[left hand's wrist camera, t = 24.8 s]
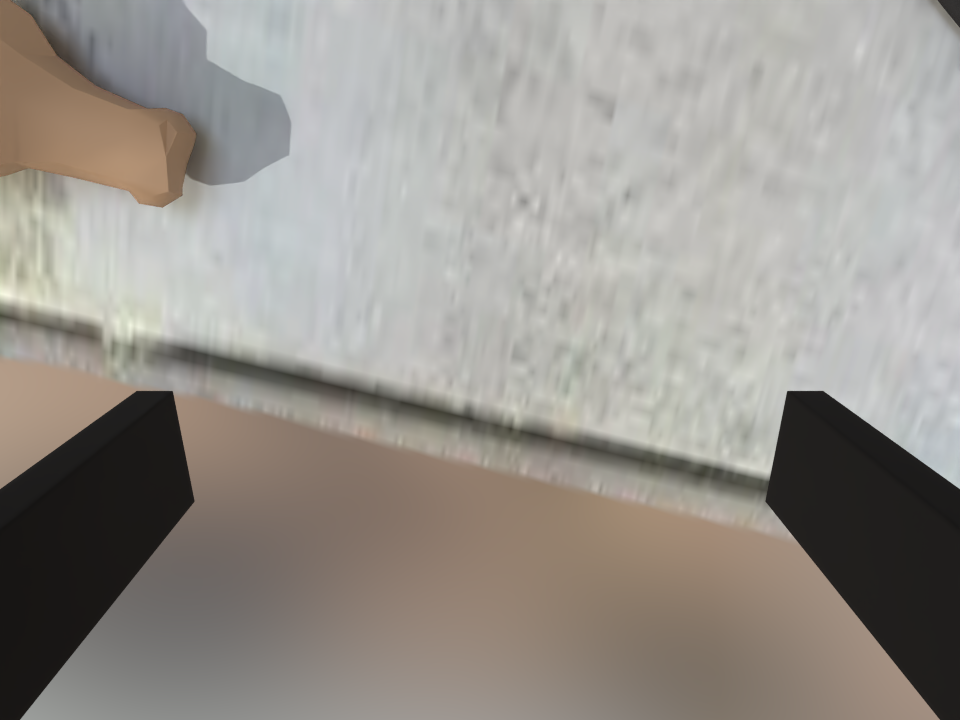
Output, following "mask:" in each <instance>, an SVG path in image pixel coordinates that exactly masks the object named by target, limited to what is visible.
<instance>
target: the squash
mask: <svg viewBox="0 0 960 720" xmlns="http://www.w3.org/2000/svg"><path fill="white" fill-rule="evenodd" d="M196 135H197V134H196V133H195V131H194V130H193V128H192V127H191V125H190V124H189V122H188V121H187V119H186V118H185V117H184V115H183V114H181V113H178V112H175V111H172V110H170V109H167V108H154V109H147V108H145V107H143V106H140V105H138V104H136V103H133V102H131V101H129V100H127V99H124V98H122V97H120V96H118V95H115V94H113V93H111V92H109V91H106V90H104V89H102V88H100V87H97V86H95V85H94V84H93V83H92V82H90V81H89V80H88V79H86V78H85V77H84V76H83V75H81V74H80V73H79V72H77V71H76V70H75V69H73V68H72V67H71V66H70V65H68V64H67V63H66V62H64V61H63V60H62V59H61V58H59V57H58V56H57V55H56V53H55V52H54V50H53V49H52V47H51V46H50V44H49V42H48V41H47V39H46V38H45V36H44V35H43V33H42V31H41V30H40V28H39V27H38V25H37V24H36V22H35V20H34V19H33V17H32V16H31V15H30V14H29V13H27V12H26V11H25V10H23V9H22V8H20V7H19V6H18V5H16V4H15V3H13V2H12V1H11V0H0V177H1V176H6V175H9V174H12V173H15V172H18V171H21V170H24V169H27V168H32V169H36V170H41V171H46V172H50V173H55V174H60V175H64V176H69V177H74V178H78V179H82V180H86V181H90V182H95V183H99V184H103V185H107V186H111V187H115V188H119V189H123V190H127V191H129V192H130V193H131V194H132V195H133V197H134V198H135V199H136V200H137V202H138V203H139V204H145V205H151V206H157V207H164V206H166V205H167V204H169V203H171V202H172V201H174V200H175V199H177V198H179V197H180V196H182V187H183V182H184V177H185V172H186V168H187V163H188V161H189V158H190V155H191V152H192V150H193V147H194V144H195V140H196Z"/></svg>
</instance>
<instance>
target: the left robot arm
mask: <svg viewBox="0 0 960 720" xmlns="http://www.w3.org/2000/svg"><path fill="white" fill-rule="evenodd" d="M938 1H939V2H940V4H941V5H942V6H943V7H944V9H945V10H946V11H947V12H948V14H949V15H950V16H951V17H952V19H953V20H954V21H955V22H956V23H957V25H958V26H959V27H960V0H938ZM193 503H194V496H193V491H192V486H191V481H190V476H189V471H188V466H187V461H186V456H185V451H184V446H183V441H182V436H181V431H180V426H179V421H178V416H177V410H176V405H175V401H174V395H173V391H136V392H135V393H134V394H132V395H131V396H129V397H128V398H126V399H125V400H124V401H122V402H121V403H119V404H118V405H117V406H115V407H114V408H113V409H111V410H110V411H108V412H107V413H106V414H104V415H103V416H102V417H100V418H99V419H97V420H96V421H94V422H93V423H92V424H90V425H89V426H88V427H86V428H85V429H83V430H82V431H81V432H79V433H78V434H76V435H75V436H74V437H72V438H71V439H69V440H68V441H67V442H65V443H64V444H62V445H61V446H60V447H58V448H57V449H56V450H54V451H53V452H51V453H50V454H49V455H47V456H46V457H44V458H43V459H42V460H40V461H39V462H37V463H36V464H35V465H33V466H32V467H30V468H29V469H28V470H26V471H25V472H24V473H22V474H21V475H19V476H18V477H17V478H15V479H14V480H12V481H11V482H10V483H8V484H7V485H6V486H4V487H3V488H1V489H0V720H20V719H21V718H22V716H23V715H24V714H25V713H26V711H27V710H28V709H29V708H30V706H31V705H32V704H33V703H34V701H35V700H36V699H37V698H38V696H39V695H40V694H41V693H42V691H43V690H44V689H45V688H46V686H47V685H48V684H49V683H50V681H51V680H52V679H53V678H54V676H55V675H56V674H57V673H58V671H59V670H60V669H61V668H62V666H63V665H64V664H65V663H66V661H67V660H68V659H69V658H70V656H71V655H72V654H73V653H74V651H75V650H76V649H77V648H78V646H79V645H80V644H81V643H82V641H83V640H84V639H85V638H86V636H87V635H88V634H89V633H90V631H91V630H92V629H93V628H94V626H95V625H96V624H97V623H98V621H99V620H100V619H101V618H102V616H103V615H104V614H105V613H106V611H107V610H108V609H109V608H110V606H111V605H112V604H113V603H114V601H115V600H116V599H117V598H118V596H119V595H120V594H121V593H122V591H123V590H124V589H125V588H126V586H127V585H128V584H129V583H130V581H131V580H132V579H133V578H134V576H135V575H136V574H137V573H138V571H139V570H140V569H141V568H142V566H143V565H144V564H145V563H146V561H147V560H148V559H149V558H150V556H151V555H152V554H153V553H154V551H155V550H156V549H157V548H158V546H159V545H160V544H161V543H162V541H163V540H164V539H165V538H166V536H167V535H168V534H169V533H170V531H171V530H172V529H173V528H174V526H175V525H176V524H177V523H178V521H179V520H180V519H181V518H182V516H183V515H184V514H185V513H186V511H187V510H188V509H189V508H190V506H191V505H192V504H193ZM766 503H767V504H768V505H769V506H770V508H771V509H772V510H773V511H774V513H775V514H776V515H777V516H778V518H779V519H780V520H781V521H782V523H783V524H784V525H785V526H786V528H787V529H788V530H789V531H790V533H791V534H792V535H793V536H794V538H795V539H796V540H797V541H798V543H799V544H800V545H801V546H802V548H803V549H804V550H805V551H806V553H807V554H808V555H809V556H810V558H811V559H812V560H813V561H814V563H815V564H816V565H817V566H818V568H819V569H820V570H821V571H822V573H823V574H824V575H825V576H826V578H827V579H828V580H829V581H830V583H831V584H832V585H833V586H834V588H835V589H836V590H837V591H838V593H839V594H840V595H841V596H842V598H843V599H844V600H845V601H846V603H847V604H848V605H849V606H850V608H851V609H852V610H853V611H854V613H855V614H856V615H857V616H858V618H859V619H860V620H861V621H862V623H863V624H864V625H865V626H866V628H867V629H868V630H869V631H870V633H871V634H872V635H873V636H874V638H875V639H876V640H877V641H878V643H879V644H880V645H881V646H882V648H883V649H884V650H885V651H886V653H887V654H888V655H889V656H890V658H891V659H892V660H893V661H894V663H895V664H896V665H897V666H898V668H899V669H900V670H901V671H902V673H903V674H904V675H905V676H906V678H907V679H908V680H909V681H910V683H911V684H912V685H913V686H914V688H915V689H916V690H917V691H918V693H919V694H920V695H921V696H922V698H923V699H924V700H925V701H926V703H927V704H928V705H929V706H930V708H931V709H932V710H933V711H934V713H935V714H936V715H937V716H938V718H939V719H940V720H960V489H959V488H957V487H956V486H955V485H953V484H952V483H950V482H949V481H948V480H946V479H945V478H943V477H942V476H941V475H939V474H938V473H936V472H935V471H934V470H932V469H931V468H930V467H928V466H927V465H925V464H924V463H923V462H921V461H920V460H918V459H917V458H916V457H914V456H913V455H911V454H910V453H909V452H907V451H906V450H904V449H903V448H902V447H900V446H899V445H898V444H896V443H895V442H893V441H892V440H891V439H889V438H888V437H886V436H885V435H884V434H882V433H881V432H879V431H878V430H877V429H875V428H874V427H872V426H871V425H870V424H868V423H867V422H866V421H864V420H863V419H861V418H860V417H859V416H857V415H856V414H854V413H853V412H852V411H850V410H849V409H847V408H846V407H845V406H843V405H842V404H840V403H839V402H838V401H836V400H835V399H834V398H832V397H831V396H829V395H828V394H827V393H825V392H824V391H787V395H786V400H785V405H784V410H783V416H782V421H781V426H780V431H779V436H778V441H777V446H776V451H775V456H774V461H773V466H772V471H771V476H770V481H769V486H768V491H767V496H766Z"/></svg>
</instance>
